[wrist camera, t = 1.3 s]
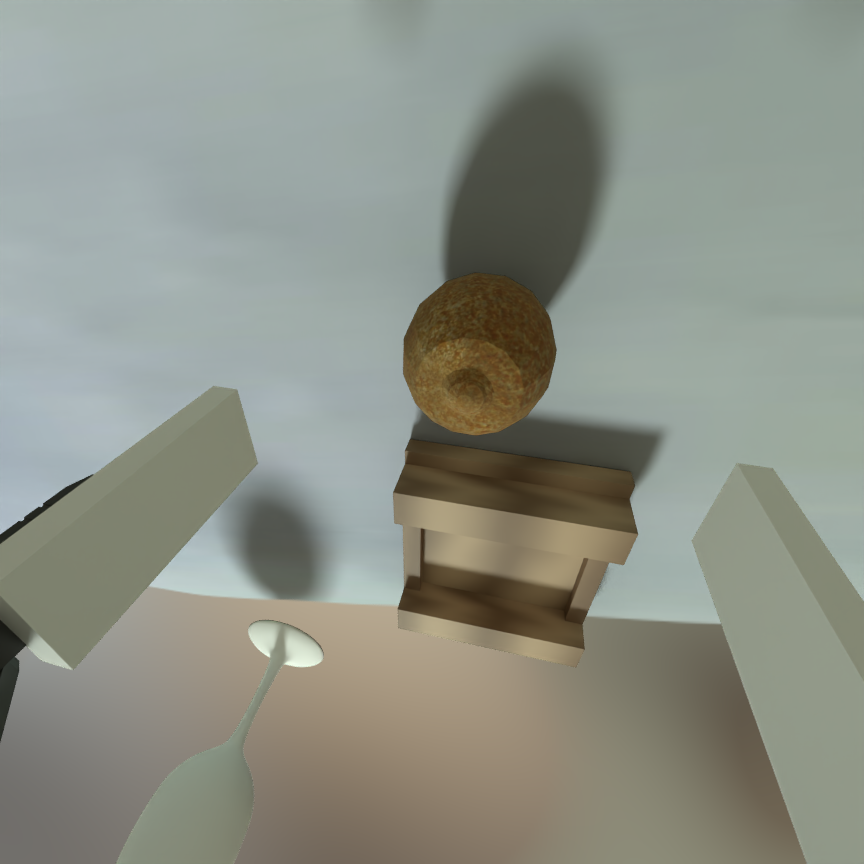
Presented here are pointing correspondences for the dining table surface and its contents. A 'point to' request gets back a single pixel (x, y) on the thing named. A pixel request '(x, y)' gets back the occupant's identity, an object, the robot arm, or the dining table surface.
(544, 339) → the fruit
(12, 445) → the dining table surface
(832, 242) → the dining table surface
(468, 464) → the cradle
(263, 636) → the wineglass
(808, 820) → the robot arm
